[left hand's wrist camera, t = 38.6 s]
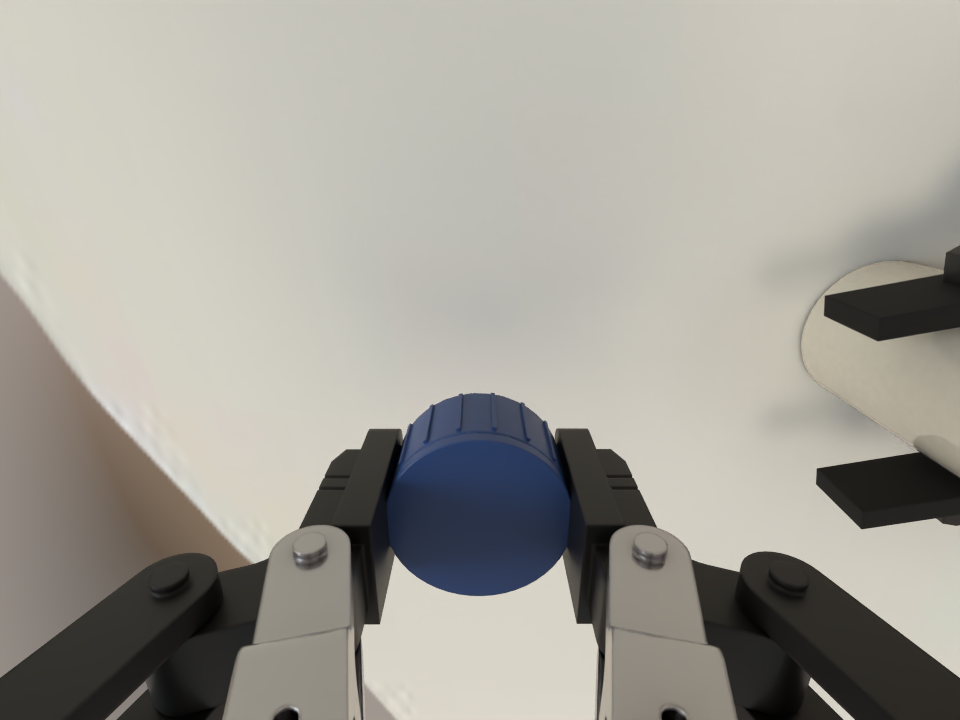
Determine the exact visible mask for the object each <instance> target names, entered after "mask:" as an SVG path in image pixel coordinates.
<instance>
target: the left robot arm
mask: <svg viewBox="0 0 960 720" xmlns="http://www.w3.org/2000/svg"><path fill="white" fill-rule="evenodd" d="M402 442H403V437H402V431H401V429H369V431H368V433H367V436H366V438H365V441H364V443H363V446H362V448H361V449H346V450H345V451H344V452H343V453H342V454H340V455H339V456H338V457H337V458H335V459H334V460H333V461H332V462H331V464H330V466H329V468H328V470H327V472H326V474H325V478H323V481H322V483H321V485H320V487H319V490H318V491H317V493H316V495H315V497H314V499H313V501H312V503H311V505H310V507H309V509H308V511H307V513H306V515H305V518H304V520H303V522H302V524H301V526H300V528H299V529H298V530H296V531H293V532H291V533H290V534H288V535H286V536H285V537H283V538H282V539H281V540H280V541H279V542H278V543H277V544H276V545H275V546H274V547H273V549H272V551H271V553H270V556H269V558H268V559H266V560H264V561H261V562H258V563H255V564H252V565H248V566H244V567H240V568H235V569H231V570H227V571H223V572H218V568H217V565H216V563H215V561H214V560H213V559H212V558H211V557H209V556H207V555H204V554H200V553H185V554H179V555H175V556H171V557H168V558H165V559H162V560H160V561H158V562H156V563H154V564H152V565H150V566H148V567H147V568H145V569H144V570H142V571H141V572H139V573H138V574H137V575H135V576H134V577H133V578H132V579H130V580H129V581H128V582H126V583H125V584H124V585H122V586H121V587H120V588H118V589H117V590H116V591H114V592H113V593H112V594H110V595H109V596H108V597H106V598H105V599H104V600H102V601H101V602H100V603H98V604H97V605H96V606H95V607H93V608H92V609H91V610H89V611H88V612H87V613H85V614H84V615H83V616H81V617H80V618H79V619H77V620H76V621H75V622H73V623H72V624H71V625H70V626H68V627H67V628H66V629H64V630H63V631H62V632H60V633H59V634H58V635H56V636H55V637H54V638H52V639H51V640H50V641H48V642H47V643H46V644H44V645H43V646H42V647H41V648H39V649H38V650H37V651H35V652H34V653H33V654H31V655H30V656H29V657H27V658H26V659H25V660H23V661H22V662H21V663H19V664H18V665H17V666H15V667H14V668H13V669H11V670H10V671H9V672H8V673H6V674H5V675H4V676H2V677H1V678H0V720H105V719H106V718H107V717H108V716H109V715H110V714H111V713H112V712H113V711H114V710H115V709H116V708H118V707H119V706H120V705H121V704H122V703H123V702H124V701H125V700H126V699H127V698H128V697H129V696H130V695H131V694H132V693H133V692H134V691H135V690H136V689H137V688H138V687H139V686H140V685H141V684H142V683H143V682H144V681H146V684H147V687H148V689H147V690H146V691H145V692H144V693H143V694H142V695H141V696H140V697H139V698H138V699H137V700H136V701H135V702H134V703H133V704H132V705H131V706H130V707H129V708H128V709H127V710H126V711H125V712H124V713H123V714H122V715H121V716H120V717H119V718H118V719H117V720H365V697H364V668H363V651H362V642H361V635H362V631H363V627H364V624H380V621H381V616H382V612H383V607H384V602H385V598H386V593H387V588H388V584H389V579H390V574H391V570H392V565H393V560H394V556H395V553H394V551H393V549H392V548H391V546H390V542H389V529H388V517H387V497H388V493H389V490H390V486H391V482H392V479H393V475H394V471H395V468H396V464H397V460H398V457H399V453H400V449H401V446H402ZM555 442H556V445H557V448H558V452H559V456H560V459H561V463H562V467H563V471H564V474H565V478H566V482H567V486H568V490H569V494H570V497H571V503H570V517H569V530H568V543H567V547H566V549H565V551H564V553H563V559H564V564H565V569H566V574H567V579H568V583H569V588H570V593H571V598H572V603H573V608H574V612H575V617H576V622H577V624H593V628H594V633H595V637H596V641H597V644H598V650H597V668H596V697H595V720H843V719H842V718H841V717H840V716H839V715H838V714H837V713H836V712H835V711H834V710H833V709H832V708H831V707H830V706H829V705H828V704H827V703H826V702H825V701H824V700H823V699H822V698H821V697H820V696H819V695H818V694H817V693H816V692H815V691H814V690H813V689H812V688H811V687H810V686H809V685H808V684H809V681H810V678H812V679H814V680H815V681H816V682H817V683H818V684H819V685H820V686H821V687H822V688H823V689H824V690H825V691H826V692H827V693H828V694H829V695H830V696H831V697H832V698H833V699H834V700H835V701H836V702H837V703H838V704H839V705H840V706H841V707H842V708H844V709H845V710H846V711H847V712H848V713H849V714H850V715H851V716H852V717H853V718H854V719H855V720H960V678H959V677H958V676H956V675H955V674H954V673H952V672H951V671H950V670H949V669H947V668H946V667H945V666H943V665H942V664H941V663H939V662H938V661H937V660H935V659H934V658H933V657H931V656H930V655H929V654H927V653H926V652H925V651H923V650H922V649H921V648H920V647H918V646H917V645H916V644H914V643H913V642H912V641H910V640H909V639H908V638H906V637H905V636H904V635H902V634H901V633H900V632H898V631H897V630H896V629H894V628H893V627H892V626H890V625H889V624H888V623H887V622H885V621H884V620H883V619H881V618H880V617H879V616H877V615H876V614H875V613H873V612H872V611H871V610H869V609H868V608H867V607H865V606H864V605H863V604H861V603H860V602H859V601H858V600H856V599H855V598H854V597H852V596H851V595H850V594H848V593H847V592H846V591H844V590H843V589H842V588H840V587H839V586H838V585H836V584H835V583H834V582H832V581H831V580H830V579H829V578H827V577H826V576H825V575H823V574H822V573H821V572H819V571H818V570H817V569H815V568H814V567H812V566H811V565H809V564H807V563H805V562H804V561H801V560H799V559H797V558H794V557H792V556H789V555H785V554H782V553H776V552H766V551H765V552H756V553H753V554H750V555H748V556H747V557H746V558H745V559H744V560H743V561H742V564H741V568H740V572H736V571H732V570H728V569H723V568H719V567H715V566H710V565H706V564H703V563H699V562H697V561H694V560H691V556H690V553H689V551H688V549H687V547H686V546H685V545H684V544H683V543H682V542H681V541H680V540H679V539H678V538H677V537H675V536H674V535H672V534H670V533H669V532H667V531H664V530H662V529H659V528H657V526H656V524H655V522H654V520H653V518H652V516H651V514H650V512H649V510H648V507H647V505H646V503H645V501H644V499H643V497H642V495H641V493H640V491H639V490H638V487H637V484H636V482H635V480H634V478H632V474H631V472H630V470H629V468H628V466H627V464H626V461H624V460H623V459H622V458H621V457H620V456H618V455H617V454H616V453H615V452H614V451H612V450H611V449H596V447H595V445H594V442H593V440H592V437H591V435H590V432H589V430H588V429H556V432H555Z"/></svg>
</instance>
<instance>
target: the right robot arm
mask: <svg viewBox="0 0 960 720" xmlns="http://www.w3.org/2000/svg"><path fill="white" fill-rule="evenodd" d="M824 316H825V317H827V318H829V319H831V320H833V321H835V322H838V323H840V324H842V325H844V326H846V327H848V328H850V329H852V330H854V331H857V332H859V333H861V334H863V335H865V336H867V337H869V338H871V339H873V340H875V341H884V340H890V339H896V338H901V337H907V336H913V335H918V334H924V333H930V332H936V331H941V330H947V329H953V328H958V327H960V246H958V247H956V248H954V249H952V250H951V251H949V252H947V253H946V258H945V266H944V274H940V275H934V276H929V277H923V278H918V279H912V280H907V281H901V282H896V283H891V284H885V285H880V286H874V287H869V288H863V289H858V290H852V291H847V292H841V293H836V294H831V295H825V299H824ZM816 484H817V485H818V486H819V487H820V488H821V489H822V490H823V491H824V492H825V493H826V494H827V495H828V496H829V497H830V498H831V499H832V500H833V501H834V502H835V503H836V504H837V505H838V506H839V507H840V508H841V509H842V510H843V511H844V512H845V513H846V514H847V515H848V516H849V517H850V518H851V519H852V520H853V521H854V522H855V523H856V524H857V525H858V526H859V527H860V528H861V529H867V528H873V527H880V526H887V525H893V524H900V523H907V522H914V521H920V520H927V519H934V518H937V519H938V520H939V521H940V522H942V523H943V524H949V525H955V526H958V525H960V478H958V477H957V476H955V475H954V474H952V473H951V472H949V471H948V470H946V469H945V468H943V467H942V466H940V465H939V464H937V463H936V462H934V461H933V460H931V459H930V458H928V457H927V456H925V455H924V454H922V453H921V452H918V453H912V454H905V455H899V456H893V457H887V458H880V459H874V460H868V461H861V462H855V463H849V464H843V465H836V466H830V467H824V468H817V477H816Z"/></svg>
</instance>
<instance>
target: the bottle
mask: <svg viewBox="0 0 960 720" xmlns="http://www.w3.org/2000/svg"><path fill="white" fill-rule="evenodd" d="M940 274H944V270H941V269H936V268H932V267H928V266H924V265H920V264H916V263H912V262H906V261H882V262H877V263H873V264H869V265H867V266H864V267H861V268H859V269H857V270H855V271H853V272H851V273H849V274H847V275H846V276H844V277H843V278H841V279H840V280H838V281H837V282H836V283H835V284H833V285H832V286H831V287H830V288H829V289H828V290H827V291H826V292H825V293H824V294H823V295H822V296H821V297H820V299H819V300H818V301H817V303H816V304H815V306H814V307H813V309H812V310H811V312H810V314H809V316H808V318H807V321H806V323H805V326H804V329H803V333H802V340H801V353H802V358H803V362H804V365H805V367H806V369H807V371H808V373H809V375H810V376H811V377H812V378H813V380H814V381H815V382H816V383H818V384H819V385H820V386H821V387H823V388H824V389H826V390H827V391H829V392H830V393H832V394H833V395H835V396H836V397H838V398H839V399H841V400H842V401H844V402H845V403H847V404H848V405H850V406H851V407H853V408H854V409H856V410H857V411H859V412H860V413H862V414H863V415H865V416H867V417H868V418H870V419H871V420H873V421H874V422H876V423H877V424H879V425H880V426H882V427H883V428H885V429H886V430H888V431H889V432H891V433H892V434H894V435H895V436H897V437H898V438H900V439H901V440H903V441H904V442H906V443H907V444H909V445H910V446H912V447H913V448H915V449H916V450H918V451H919V452H921V453H922V454H924V455H925V456H927V457H928V458H930V459H931V460H933V461H934V462H936V463H937V464H939V465H940V466H942V467H943V468H945V469H946V470H948V471H949V472H951V473H952V474H954V475H955V476H957V477H958V478H960V327H958V328H953V329H947V330H941V331H936V332H930V333H924V334H918V335H913V336H907V337H901V338H896V339H890V340H884V341H875V340H873V339H871V338H869V337H867V336H865V335H863V334H861V333H859V332H857V331H854V330H852V329H850V328H848V327H846V326H844V325H842V324H840V323H838V322H835V321H833V320H831V319H829V318H827V317H825V316H824V299H825V295H831V294H836V293H841V292H847V291H852V290H858V289H863V288H869V287H874V286H880V285H885V284H891V283H896V282H901V281H907V280H912V279H918V278H923V277H929V276H934V275H940Z"/></svg>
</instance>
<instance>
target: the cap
mask: <svg viewBox="0 0 960 720" xmlns="http://www.w3.org/2000/svg"><path fill="white" fill-rule="evenodd" d="M570 503H571V497H570V494H569V490H568V486H567V482H566V478H565V474H564V471H563V467H562V463H561V459H560V456H559V452H558V448H557V445H556V442H555V440H554V437H553V435H552V433H551V432H550V430H549V428H548V424H547V422H546V421H543V420H542V419H540V418H539V417H538V416H537V415H536V414H535V413H534V412H533V411H531V410H530V409H529V408H527V407H526V406H525V404H524V403H522V402H521V403H519V402H516V401H514V400H511V399H509V398H506V397H503V396H500V395H495V393H491V394H478V393H473V394H472V393H471V394H465V395H463V394H459V396H456V397H452V398H449V399H446V400H443V401H442V402H440V403H438V404H436V405H433V404H432V405H431V406H430V408H429V409H428V410H426V411H425V412H424V413H423V414H422V415H420V416H419V417H418V418H417V420H416V421H415V422H414V423H413V424H409V426H408V429H407V433H406V435H405V438H404V440H403V442H402V446H401V449H400V453H399V457H398V460H397V464H396V468H395V471H394V475H393V479H392V482H391V486H390V490H389V493H388V497H387V517H388V529H389V542H390V546H391V548H392V549H393V551H394V553H395V555H396V556H397V558H398V559H399V560H400V562H401V563H402V564H403V565H404V566H405V567H406V568H407V569H408V570H409V571H410V572H411V573H413V574H414V575H415V576H416V577H418V578H419V579H421V580H423V581H424V582H426V583H428V584H430V585H432V586H434V587H436V588H439V589H441V590H444V591H447V592H451V593H456V594H461V595H469V596H488V595H497V594H502V593H507V592H510V591H514V590H517V589H519V588H522V587H524V586H526V585H528V584H530V583H532V582H534V581H536V580H537V579H538V578H540V577H541V576H543V575H544V574H545V573H547V572H548V571H549V570H550V569H551V568H552V567H553V566H554V565H555V564H556V562H557V561H558V560H559V559H560V557H561V556H562V554H563V553H564V551H565V549H566V547H567V543H568V530H569V517H570Z"/></svg>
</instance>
